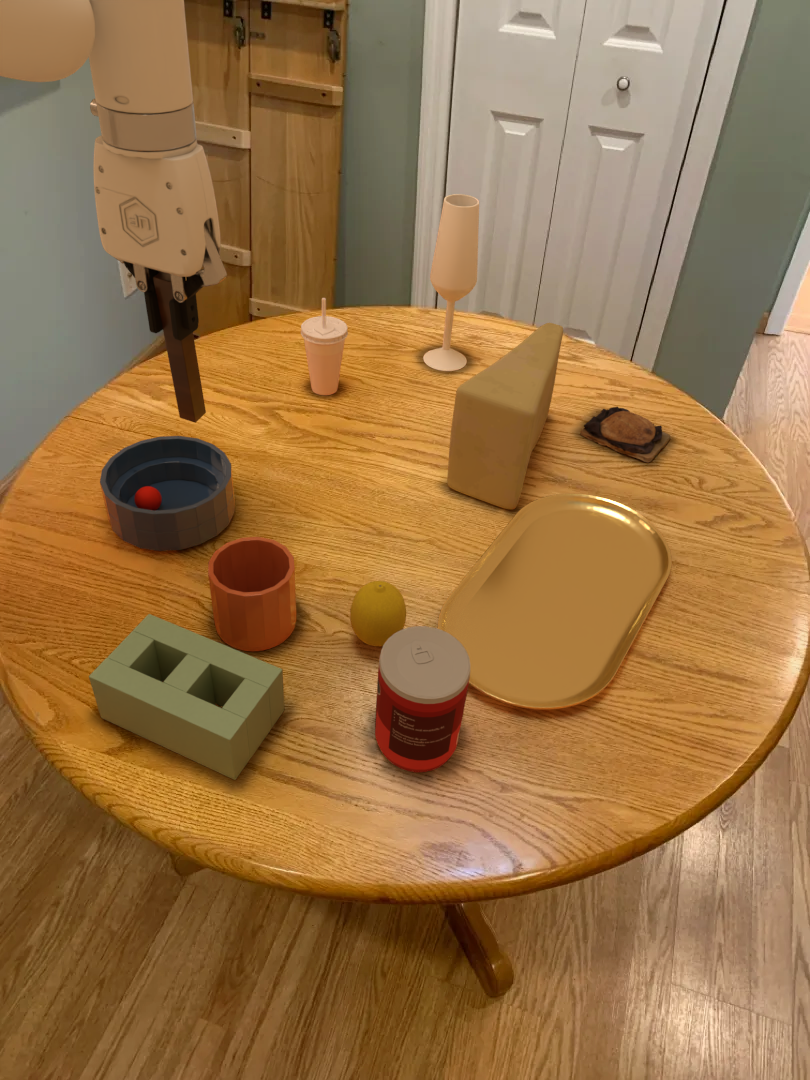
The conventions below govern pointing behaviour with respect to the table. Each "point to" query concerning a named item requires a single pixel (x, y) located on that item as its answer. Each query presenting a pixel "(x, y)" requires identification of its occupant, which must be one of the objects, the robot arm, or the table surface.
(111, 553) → the table surface
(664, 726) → the table surface
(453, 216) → the champagne flute
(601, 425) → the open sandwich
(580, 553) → the serving platter
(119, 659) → the cinder block
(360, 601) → the lemon
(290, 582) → the crock
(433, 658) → the canned food
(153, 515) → the bowl
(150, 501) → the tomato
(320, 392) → the smoothie
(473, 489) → the cheese
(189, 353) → the stick
